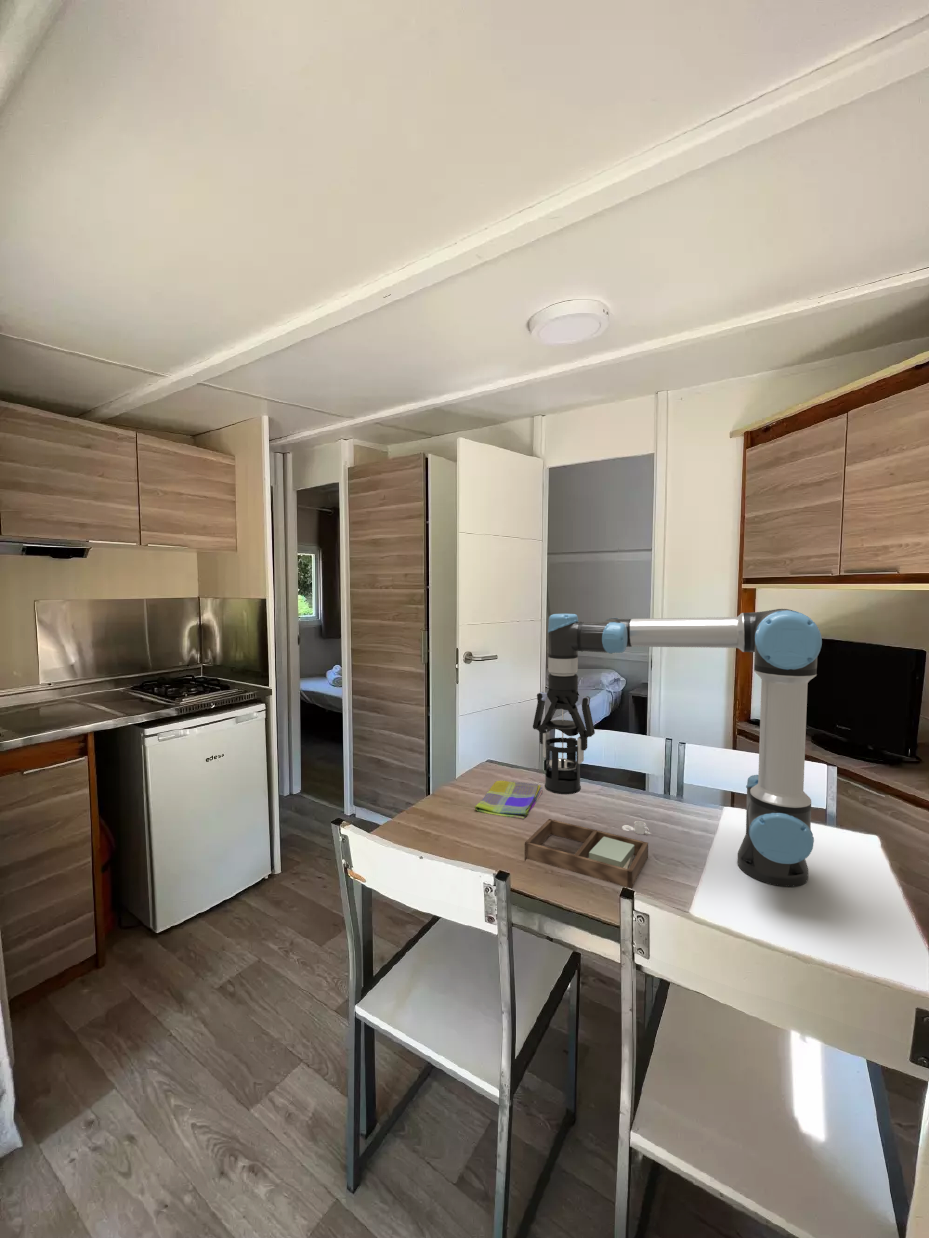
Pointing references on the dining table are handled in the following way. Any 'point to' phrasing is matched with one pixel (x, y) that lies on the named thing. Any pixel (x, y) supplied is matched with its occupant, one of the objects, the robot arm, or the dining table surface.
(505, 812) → the dish towel
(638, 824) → the teacup and saucer
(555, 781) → the french press
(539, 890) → the dining table surface
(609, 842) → the sage offcut top
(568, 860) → the walnut tray
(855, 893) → the dining table surface
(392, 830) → the dining table surface
